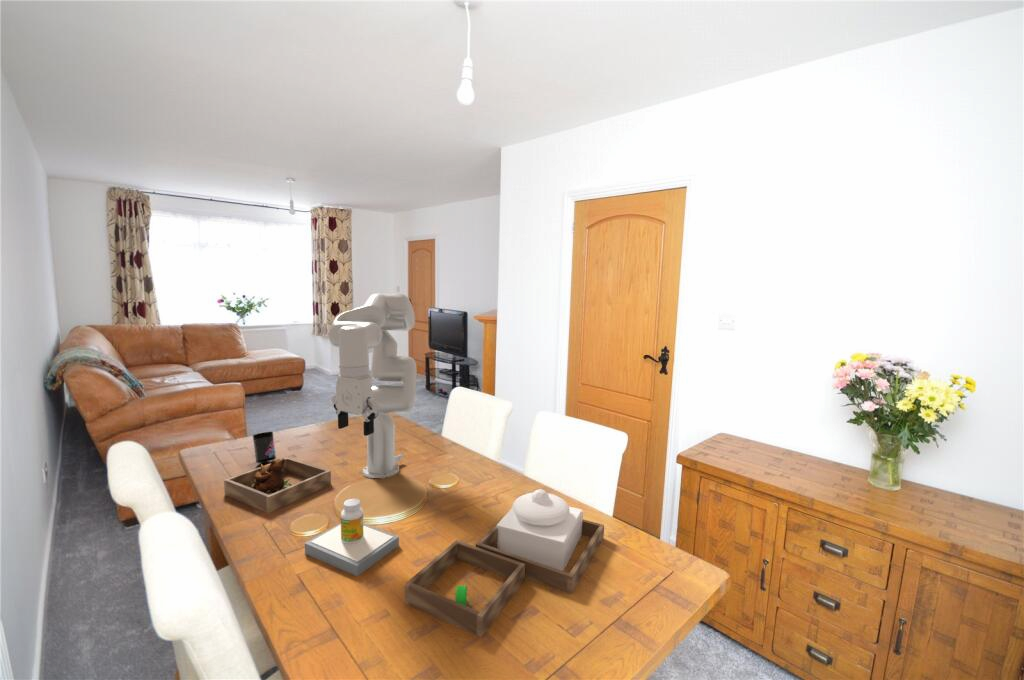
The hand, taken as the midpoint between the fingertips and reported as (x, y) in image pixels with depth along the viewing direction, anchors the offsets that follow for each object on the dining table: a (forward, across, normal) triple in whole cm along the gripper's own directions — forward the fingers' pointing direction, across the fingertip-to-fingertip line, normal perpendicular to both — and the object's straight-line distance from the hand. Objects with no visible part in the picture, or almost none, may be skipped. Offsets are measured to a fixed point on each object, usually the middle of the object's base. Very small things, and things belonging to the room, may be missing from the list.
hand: (355, 430), depth 125 cm
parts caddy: (+25, +45, -11) cm, 53 cm away
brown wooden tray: (+28, -35, 0) cm, 45 cm away
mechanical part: (+28, +47, -20) cm, 58 cm away
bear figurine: (+28, -37, -2) cm, 46 cm away
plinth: (+26, +11, -12) cm, 31 cm away
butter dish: (+26, +52, +14) cm, 59 cm away
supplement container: (+29, -59, +12) cm, 67 cm away
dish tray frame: (+26, +53, +12) cm, 60 cm away
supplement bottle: (+23, +10, -12) cm, 28 cm away
